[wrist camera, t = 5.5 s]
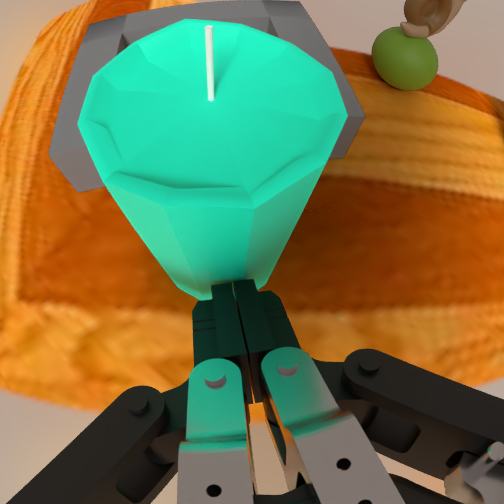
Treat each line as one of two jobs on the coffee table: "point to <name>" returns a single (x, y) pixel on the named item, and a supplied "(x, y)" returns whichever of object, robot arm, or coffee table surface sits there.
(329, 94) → the candle
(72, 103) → the grey u-shaped frame
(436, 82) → the coffee table surface
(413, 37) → the snail figurine
